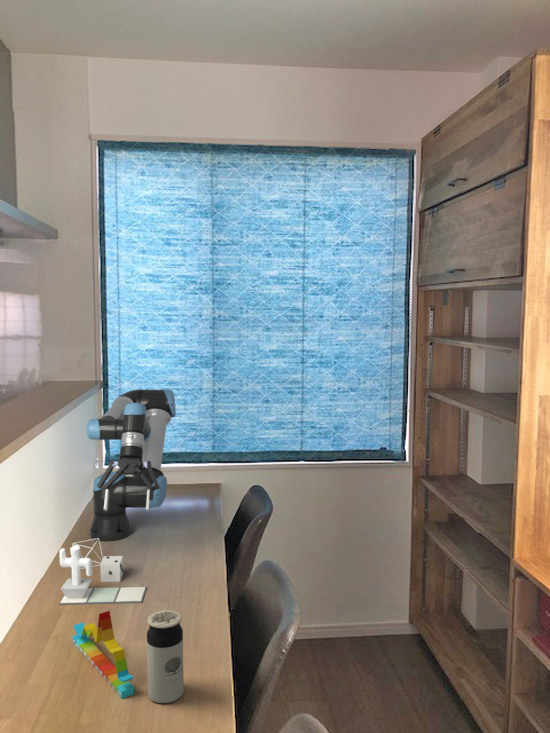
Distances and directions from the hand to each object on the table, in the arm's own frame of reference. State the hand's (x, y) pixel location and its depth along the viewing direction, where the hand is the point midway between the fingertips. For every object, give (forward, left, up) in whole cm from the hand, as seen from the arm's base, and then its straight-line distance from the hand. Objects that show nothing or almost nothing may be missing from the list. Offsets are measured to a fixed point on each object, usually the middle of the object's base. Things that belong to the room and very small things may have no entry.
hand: (126, 510), depth 214 cm
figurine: (+20, -12, -20) cm, 30 cm away
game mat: (+20, -4, -20) cm, 28 cm away
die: (+7, -4, -20) cm, 22 cm away
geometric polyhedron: (-4, -14, -20) cm, 25 cm away
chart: (+58, +3, -20) cm, 61 cm away
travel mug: (+70, +20, -20) cm, 75 cm away
